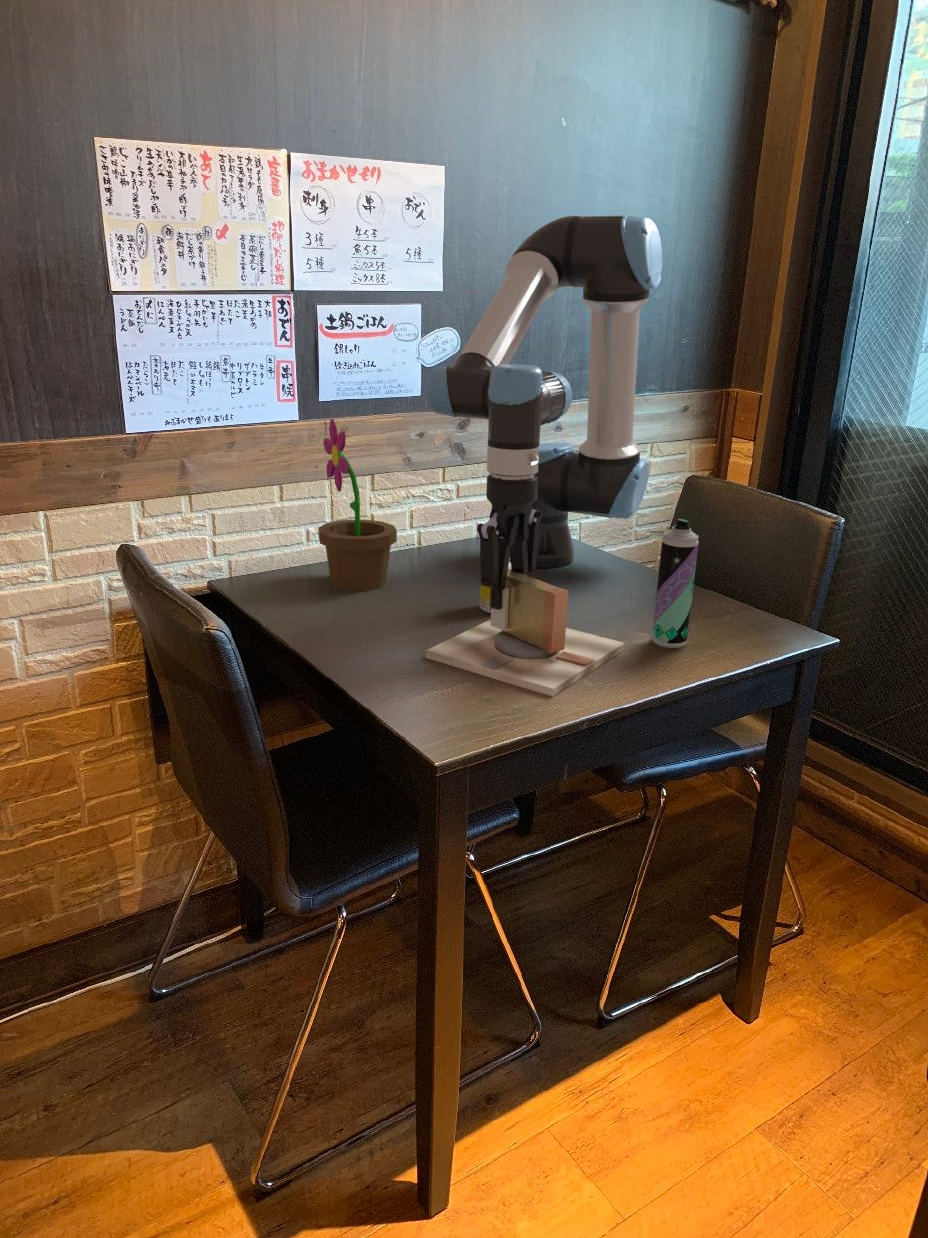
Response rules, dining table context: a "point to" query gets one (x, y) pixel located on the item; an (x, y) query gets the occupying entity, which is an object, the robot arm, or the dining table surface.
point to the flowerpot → (354, 533)
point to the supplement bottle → (486, 596)
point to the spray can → (675, 586)
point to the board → (525, 657)
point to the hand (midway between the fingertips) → (507, 623)
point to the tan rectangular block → (536, 612)
